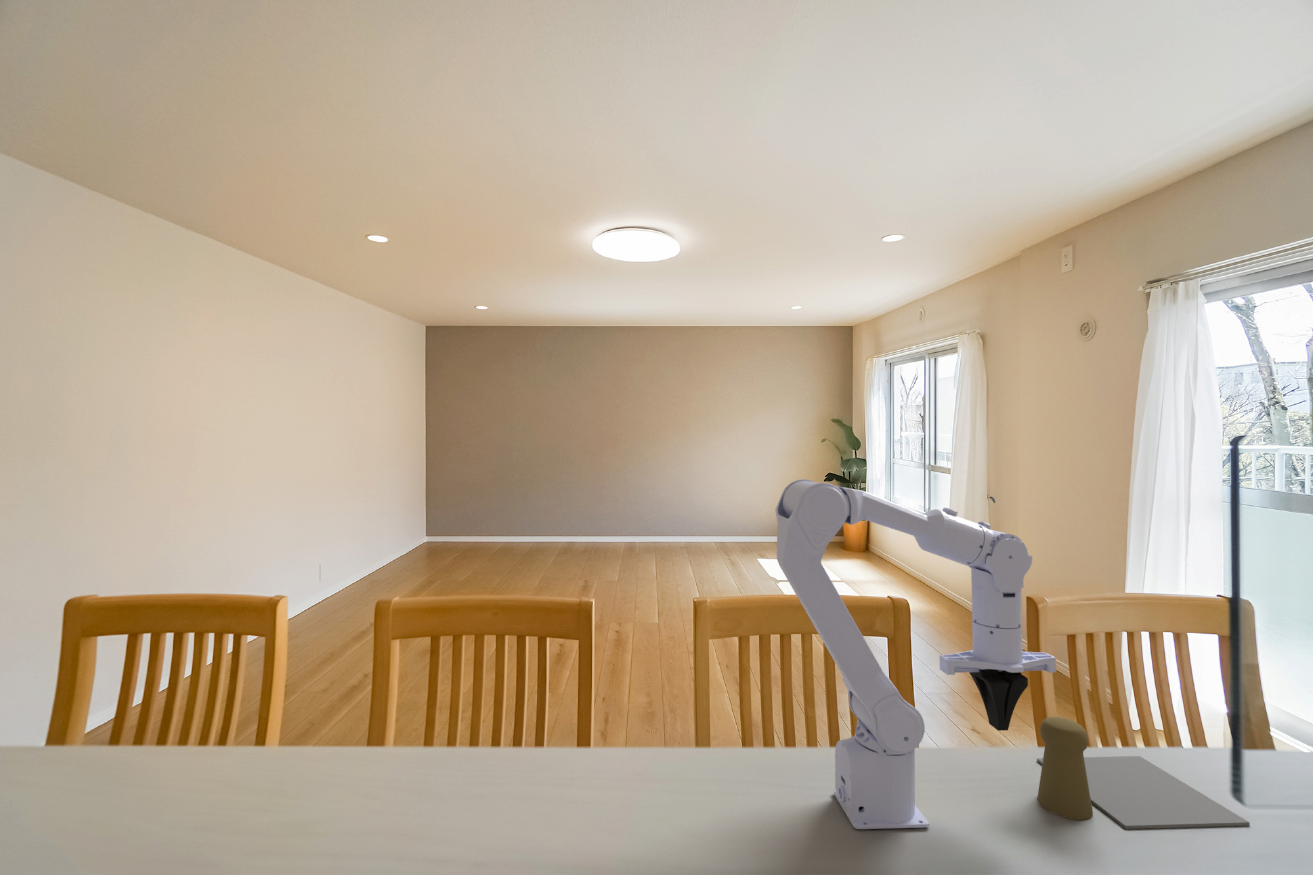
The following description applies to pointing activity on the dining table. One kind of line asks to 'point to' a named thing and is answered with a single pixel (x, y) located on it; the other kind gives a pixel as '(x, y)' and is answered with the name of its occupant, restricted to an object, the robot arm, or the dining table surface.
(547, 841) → the dining table surface
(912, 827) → the robot arm
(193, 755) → the dining table surface
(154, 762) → the dining table surface
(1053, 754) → the cork
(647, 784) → the dining table surface
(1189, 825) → the mat
